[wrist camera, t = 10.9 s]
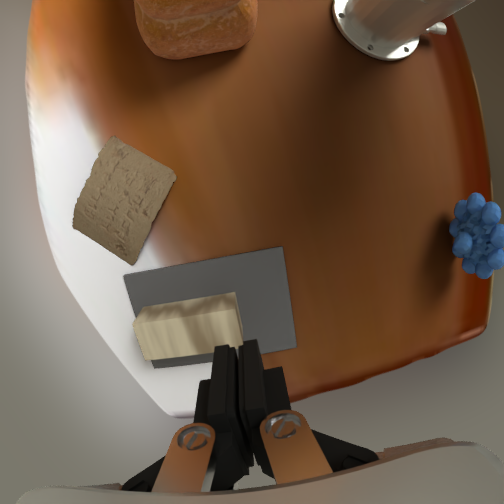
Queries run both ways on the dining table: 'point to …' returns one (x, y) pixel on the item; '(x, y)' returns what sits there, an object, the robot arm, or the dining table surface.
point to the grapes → (478, 235)
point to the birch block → (189, 327)
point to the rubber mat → (221, 282)
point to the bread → (195, 25)
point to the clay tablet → (122, 199)
